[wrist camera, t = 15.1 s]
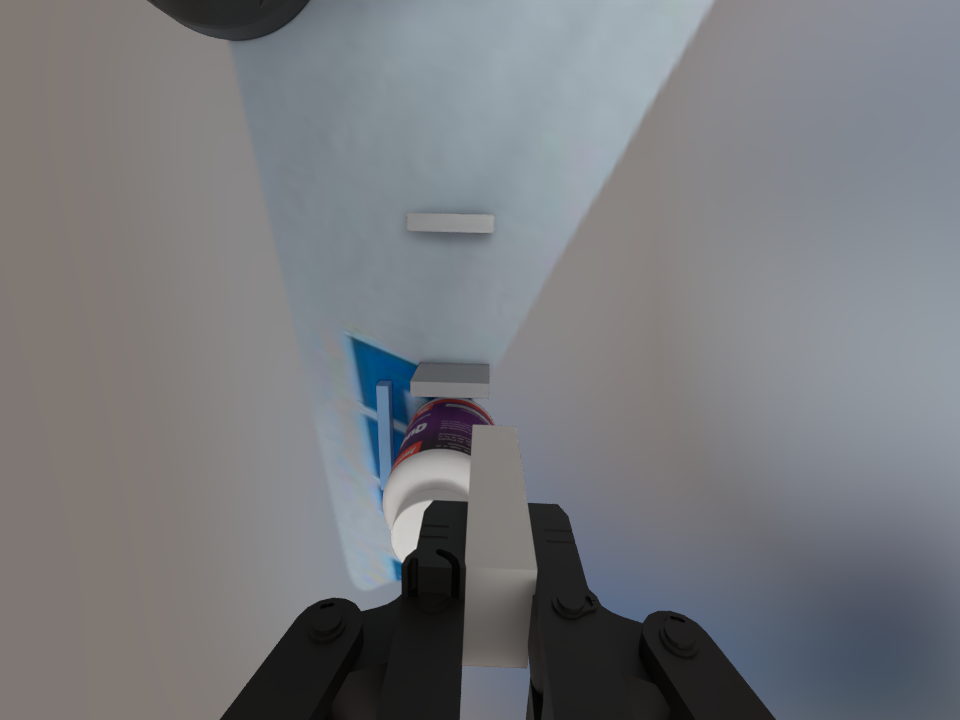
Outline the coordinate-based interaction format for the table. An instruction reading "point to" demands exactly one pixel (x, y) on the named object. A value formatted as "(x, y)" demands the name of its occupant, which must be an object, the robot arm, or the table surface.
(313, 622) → the robot arm
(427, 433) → the pill bottle
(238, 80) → the table surface
